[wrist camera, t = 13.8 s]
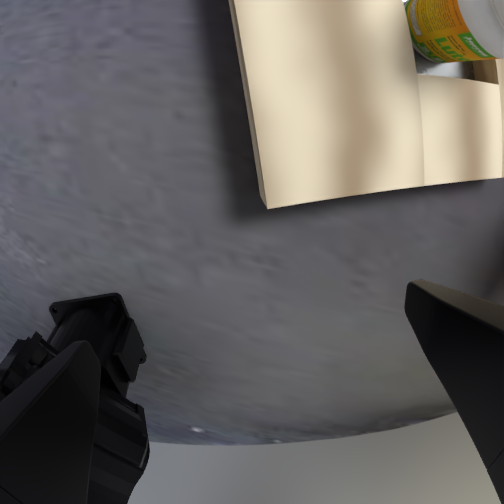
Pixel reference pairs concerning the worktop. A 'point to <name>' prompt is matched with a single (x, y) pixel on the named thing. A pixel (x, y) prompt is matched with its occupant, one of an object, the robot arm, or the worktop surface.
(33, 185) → the worktop surface
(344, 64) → the socket board
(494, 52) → the supplement bottle
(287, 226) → the worktop surface
